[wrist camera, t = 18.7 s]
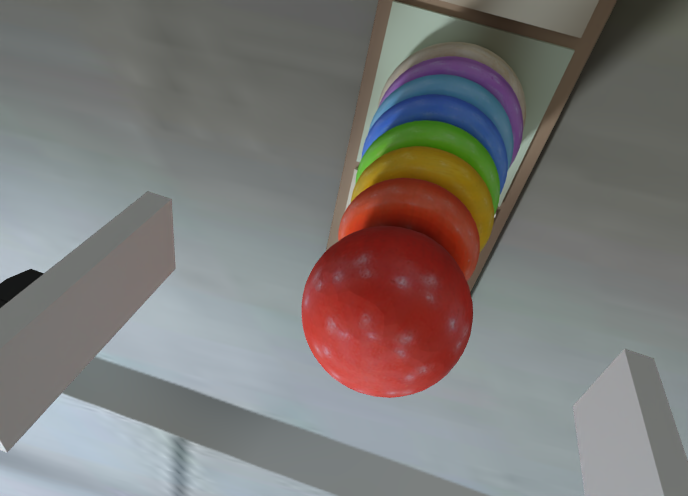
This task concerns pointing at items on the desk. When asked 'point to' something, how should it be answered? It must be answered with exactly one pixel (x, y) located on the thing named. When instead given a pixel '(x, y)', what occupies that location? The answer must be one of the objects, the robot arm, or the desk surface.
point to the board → (502, 39)
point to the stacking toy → (416, 222)
